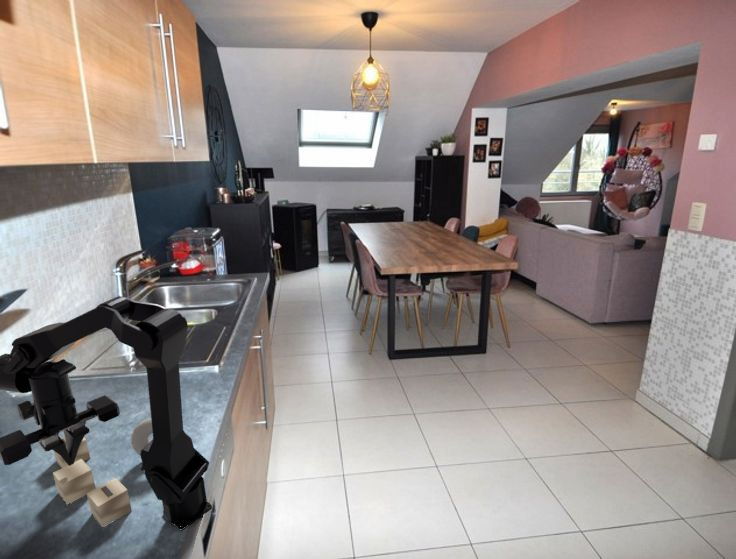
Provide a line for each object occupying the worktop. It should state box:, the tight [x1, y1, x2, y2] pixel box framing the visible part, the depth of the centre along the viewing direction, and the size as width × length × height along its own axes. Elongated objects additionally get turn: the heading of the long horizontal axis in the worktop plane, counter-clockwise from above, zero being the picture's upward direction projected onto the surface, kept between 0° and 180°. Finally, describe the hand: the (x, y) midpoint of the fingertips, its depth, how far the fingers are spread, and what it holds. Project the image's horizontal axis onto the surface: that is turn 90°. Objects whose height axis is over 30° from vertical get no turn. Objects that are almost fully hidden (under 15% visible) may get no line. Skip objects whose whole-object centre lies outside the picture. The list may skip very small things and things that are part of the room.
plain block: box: [52, 459, 97, 505], centre depth 85 cm, size 5×5×5 cm
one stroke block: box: [86, 477, 133, 528], centre depth 80 cm, size 5×5×5 cm
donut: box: [130, 417, 153, 456], centre depth 94 cm, size 10×3×10 cm, turn 105°
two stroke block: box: [52, 435, 91, 469], centre depth 94 cm, size 5×5×5 cm
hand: (70, 464), depth 84 cm, fingers closed
